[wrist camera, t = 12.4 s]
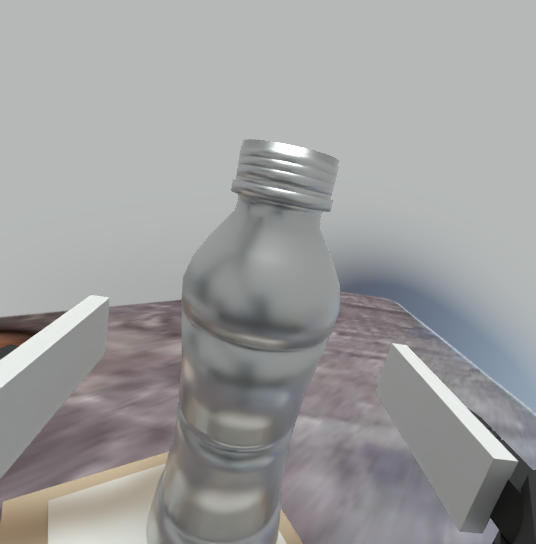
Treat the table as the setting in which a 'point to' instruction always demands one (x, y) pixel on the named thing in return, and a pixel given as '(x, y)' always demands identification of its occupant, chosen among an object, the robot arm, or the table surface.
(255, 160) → the plastic bottle
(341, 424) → the table surface
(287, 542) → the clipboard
